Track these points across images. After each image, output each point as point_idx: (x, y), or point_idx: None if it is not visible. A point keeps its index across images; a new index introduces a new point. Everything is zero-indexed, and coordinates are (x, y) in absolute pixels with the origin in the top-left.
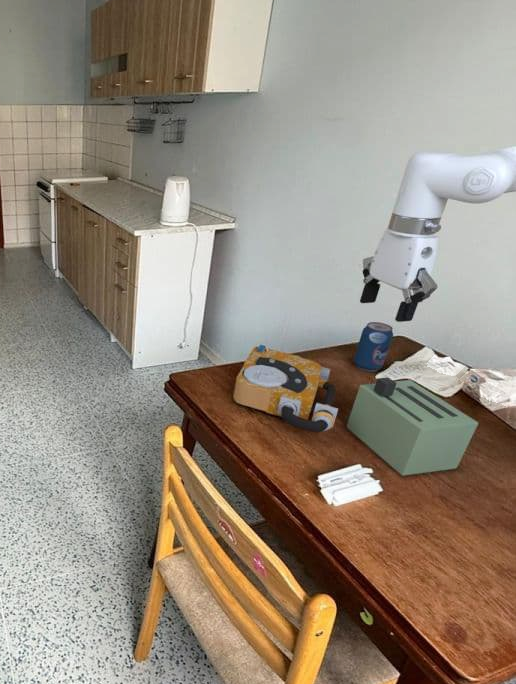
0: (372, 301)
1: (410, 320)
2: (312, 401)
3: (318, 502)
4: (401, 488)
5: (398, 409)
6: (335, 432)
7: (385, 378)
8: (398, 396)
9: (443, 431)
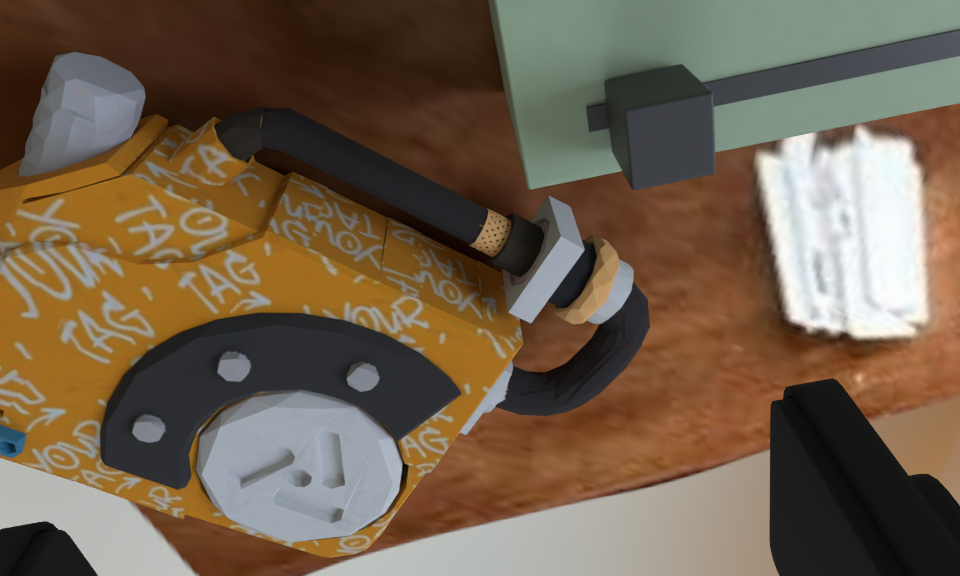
0: (78, 571)
1: (826, 386)
2: (520, 344)
3: (899, 358)
4: None
5: (823, 104)
6: None
7: (642, 139)
8: (684, 15)
9: None
